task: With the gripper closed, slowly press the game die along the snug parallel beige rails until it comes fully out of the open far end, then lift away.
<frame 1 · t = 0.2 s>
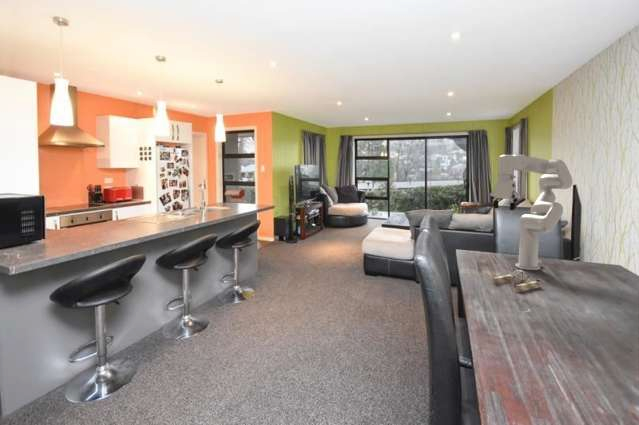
hand: (503, 209, 187), 36 cm above the table, tool pointing down, fingers open, 9 cm apart
game die: (518, 285, 172), on the table
parallel beige rails: (515, 285, 171), on the table
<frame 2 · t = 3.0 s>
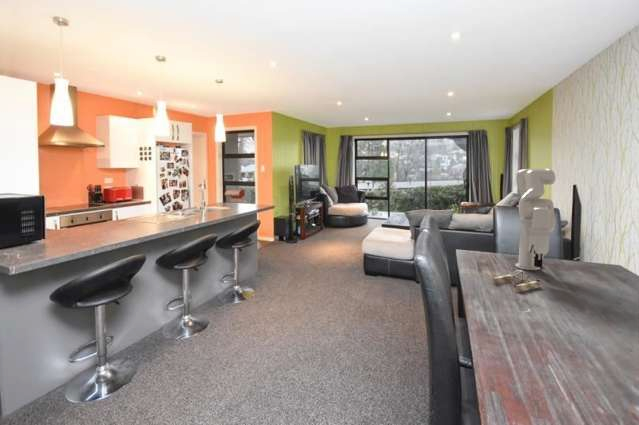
hand: (538, 266, 176), 8 cm above the table, tool pointing down, fingers closed
nothing on the table moved.
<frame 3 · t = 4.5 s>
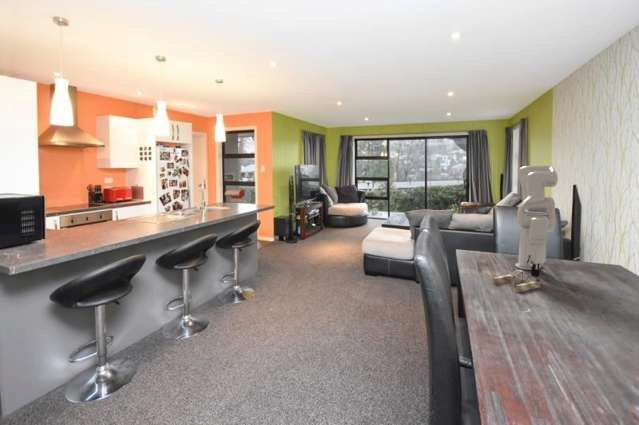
hand: (535, 276, 177), 3 cm above the table, tool pointing down, fingers closed
nothing on the table moved.
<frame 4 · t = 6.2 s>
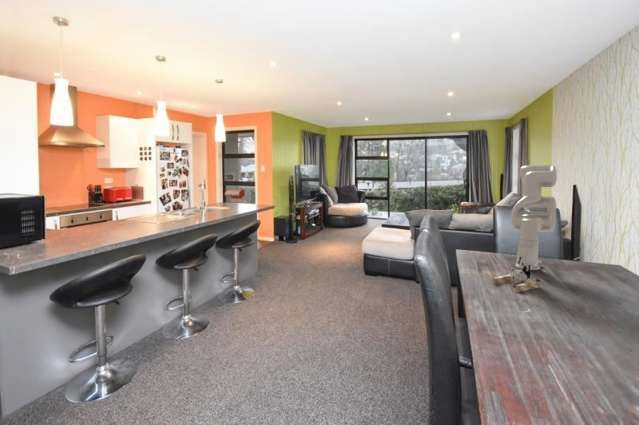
hand: (526, 277, 174), 3 cm above the table, tool pointing down, fingers closed
game die: (517, 285, 172), on the table, touching gripper
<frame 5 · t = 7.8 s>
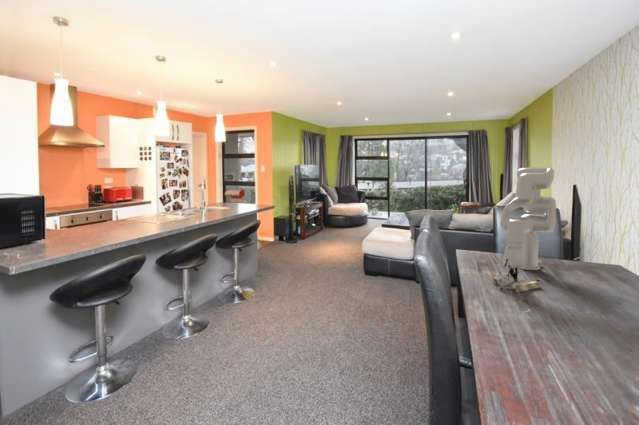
hand: (513, 280, 170), 3 cm above the table, tool pointing down, fingers closed
game die: (504, 288, 168), on the table, touching gripper
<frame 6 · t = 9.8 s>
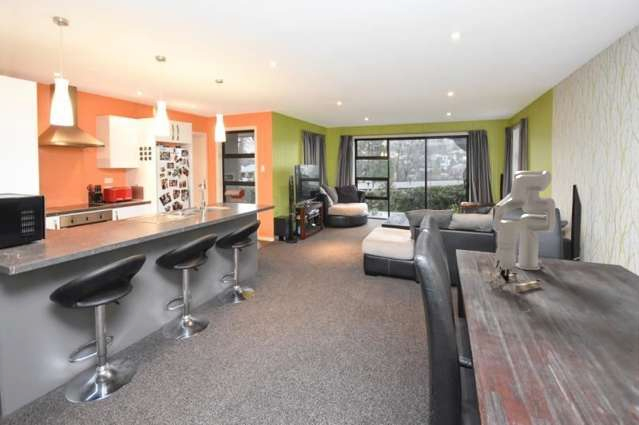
hand: (504, 282, 167), 3 cm above the table, tool pointing down, fingers closed
game die: (496, 290, 165), on the table, touching gripper
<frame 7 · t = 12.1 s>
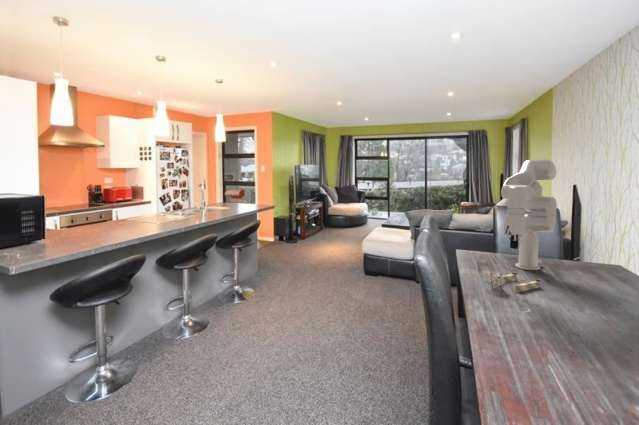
hand: (513, 248, 168), 19 cm above the table, tool pointing down, fingers closed
game die: (496, 290, 165), on the table
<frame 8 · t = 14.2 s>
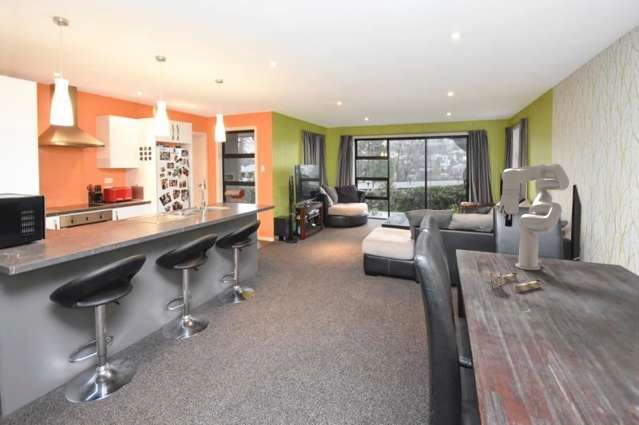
hand: (508, 226, 185), 27 cm above the table, tool pointing down, fingers closed
nothing on the table moved.
at the end: game die inside the target area (2.5 cm from its centre), on the table; game die tilted 2°; game die moved 16.5 cm from its start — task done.
